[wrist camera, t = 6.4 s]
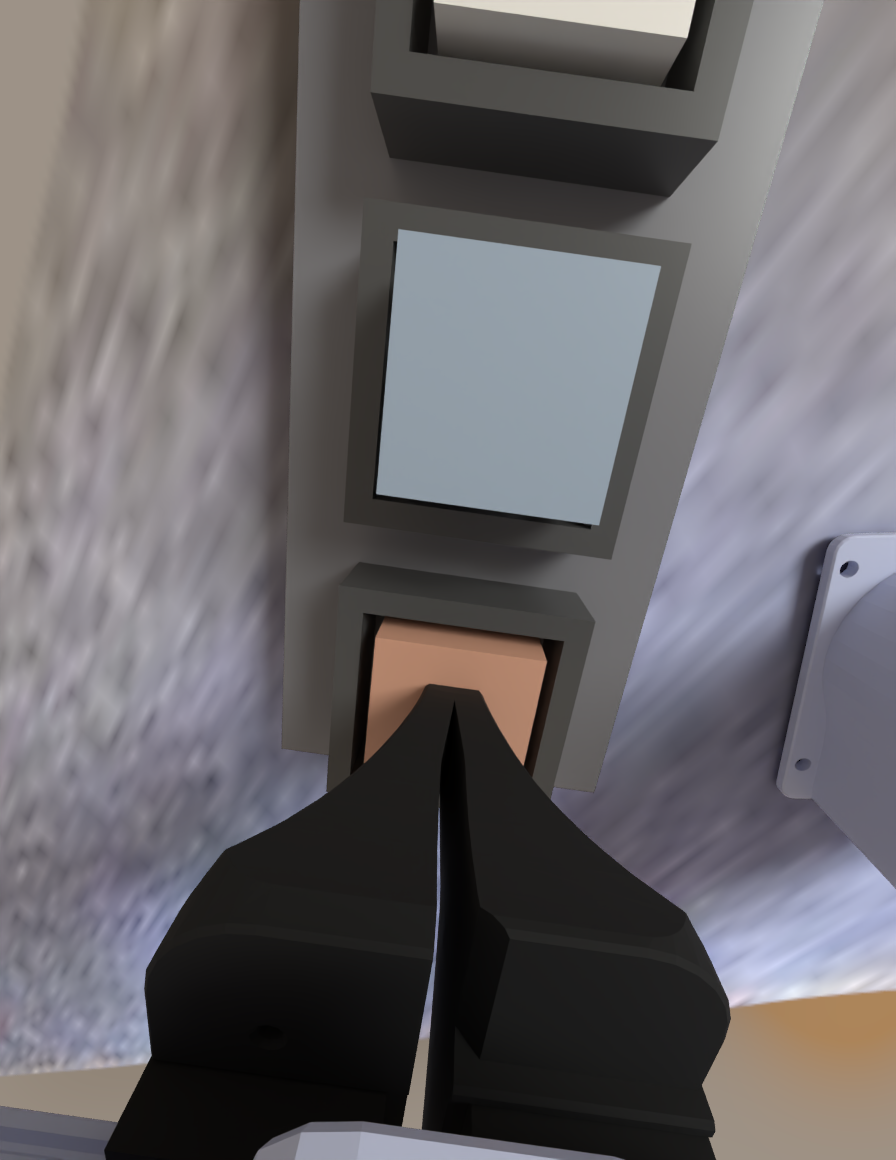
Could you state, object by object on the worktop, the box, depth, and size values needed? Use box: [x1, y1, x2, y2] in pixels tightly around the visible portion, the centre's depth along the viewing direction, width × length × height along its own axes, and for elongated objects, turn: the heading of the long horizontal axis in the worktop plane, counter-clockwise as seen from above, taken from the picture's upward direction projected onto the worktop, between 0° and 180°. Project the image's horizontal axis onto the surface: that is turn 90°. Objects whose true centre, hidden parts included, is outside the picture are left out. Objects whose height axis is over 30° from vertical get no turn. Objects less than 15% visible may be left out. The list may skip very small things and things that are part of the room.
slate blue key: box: [376, 229, 661, 525], centre depth 9 cm, size 4×4×2 cm
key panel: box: [282, 0, 824, 808], centre depth 11 cm, size 22×10×4 cm, turn 172°
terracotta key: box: [364, 616, 547, 766], centre depth 12 cm, size 4×4×2 cm
